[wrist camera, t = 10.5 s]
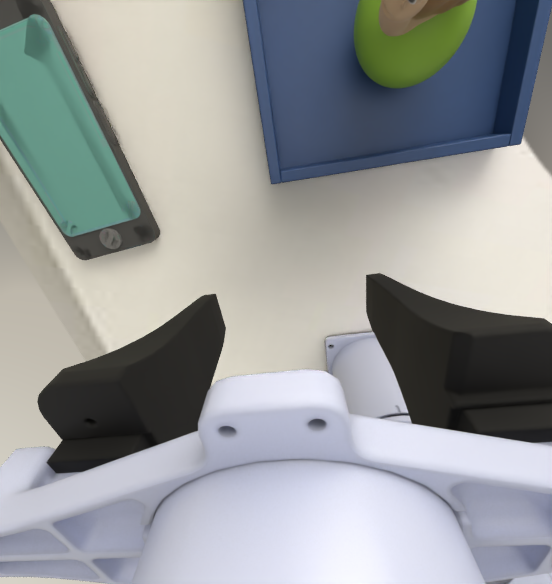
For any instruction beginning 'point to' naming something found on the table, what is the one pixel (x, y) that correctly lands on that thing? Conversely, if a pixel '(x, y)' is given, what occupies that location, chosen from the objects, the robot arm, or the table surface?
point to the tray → (386, 89)
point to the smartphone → (65, 136)
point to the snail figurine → (409, 37)
